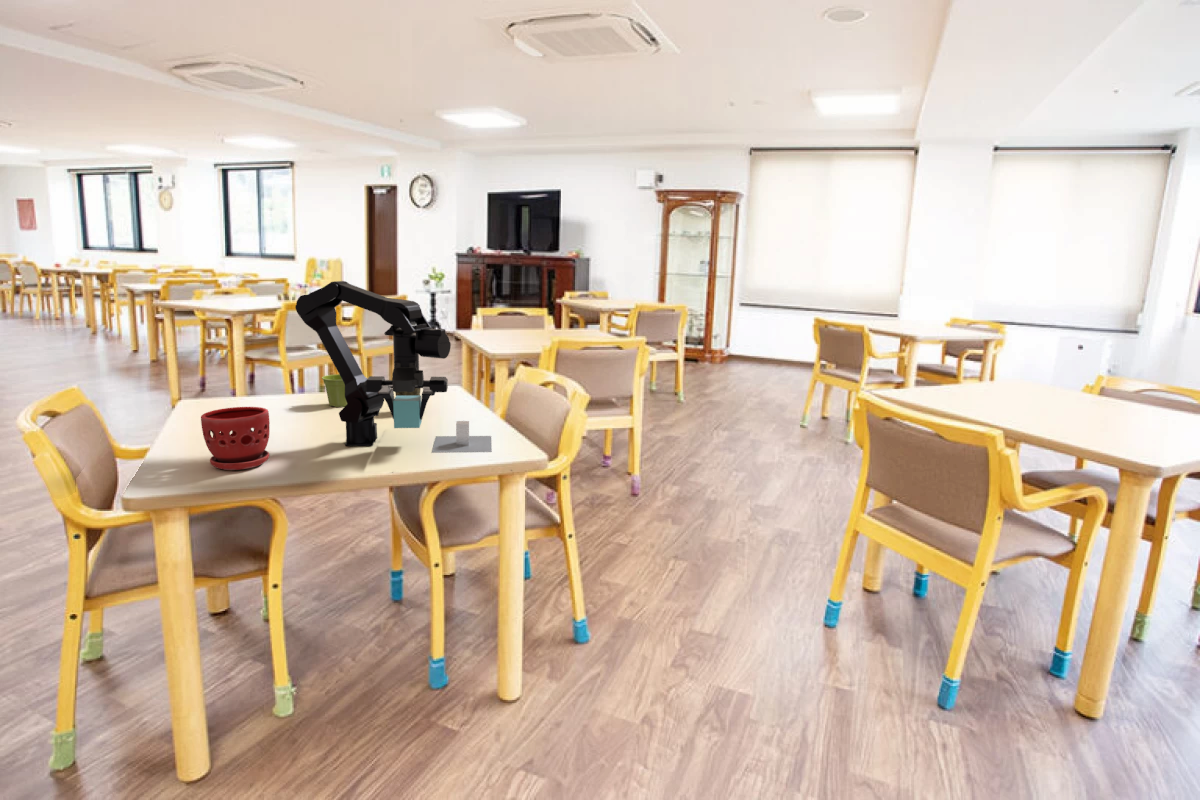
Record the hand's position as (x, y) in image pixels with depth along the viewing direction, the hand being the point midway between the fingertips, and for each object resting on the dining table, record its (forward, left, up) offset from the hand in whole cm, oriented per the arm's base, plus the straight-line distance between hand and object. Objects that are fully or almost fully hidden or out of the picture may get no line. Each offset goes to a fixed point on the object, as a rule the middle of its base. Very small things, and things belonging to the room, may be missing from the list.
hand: (407, 419), depth 165 cm
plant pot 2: (-25, +47, -8) cm, 54 cm away
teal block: (0, 0, -1) cm, 1 cm away
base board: (+13, +1, -8) cm, 15 cm away
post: (+13, +1, -7) cm, 14 cm away
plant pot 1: (-35, -10, -8) cm, 37 cm away
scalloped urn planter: (-4, +38, -8) cm, 39 cm away
